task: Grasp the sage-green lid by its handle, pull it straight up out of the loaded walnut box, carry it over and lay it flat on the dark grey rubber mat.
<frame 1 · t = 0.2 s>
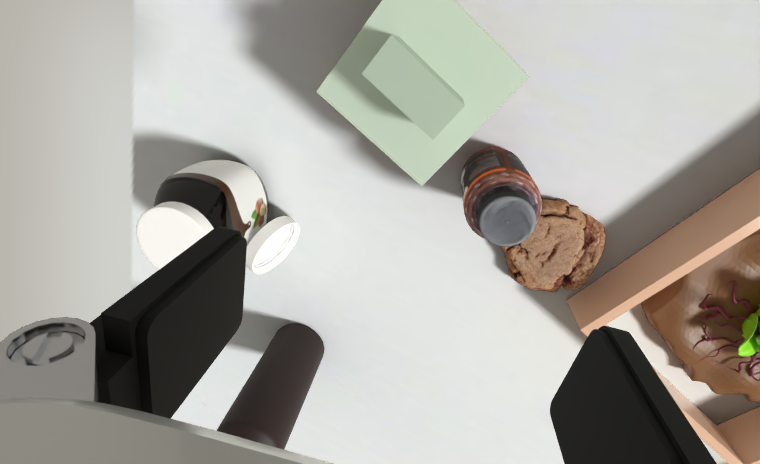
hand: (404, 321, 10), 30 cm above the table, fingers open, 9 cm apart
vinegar: (300, 342, 52), on the table
supplement bottle: (491, 176, 38), on the table
lid: (420, 81, 30), point 6 cm above the table, touching box
plant: (758, 302, 40), resting in wooden tray
cookie: (545, 241, 41), on the table
spread jar: (255, 206, 44), on the table
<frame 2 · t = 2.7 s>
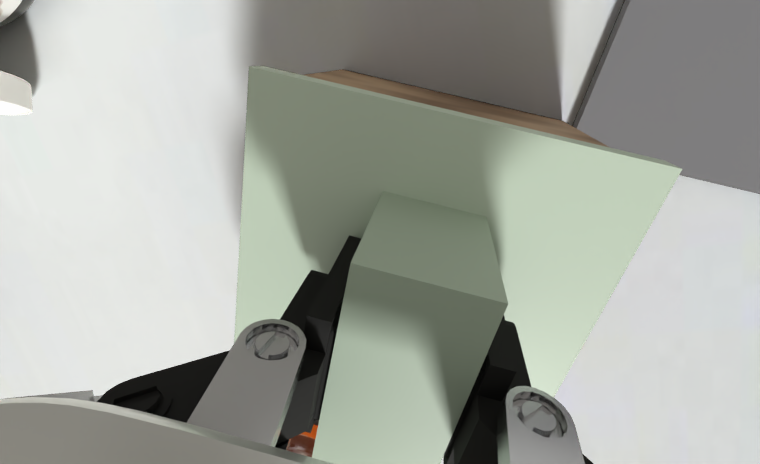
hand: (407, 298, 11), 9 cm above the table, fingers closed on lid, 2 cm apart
supplement bottle: (342, 349, 25), on the table
lid: (413, 259, 14), point 7 cm above the table, touching box, gripper
box: (423, 197, 20), on the table
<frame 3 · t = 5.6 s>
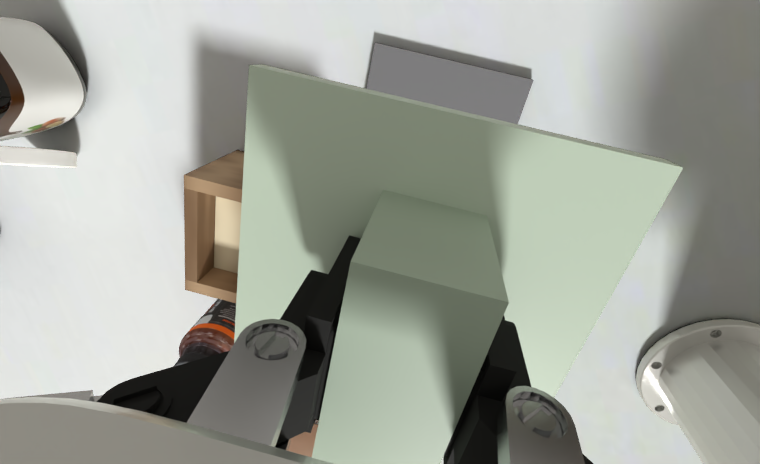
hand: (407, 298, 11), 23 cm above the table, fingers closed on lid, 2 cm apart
supplement bottle: (254, 300, 42), on the table
lid: (414, 258, 14), point 20 cm above the table, touching gripper
box: (285, 214, 37), on the table
spread jar: (57, 103, 36), on the table
mat: (432, 139, 32), on the table
when the fingers open (5 cm above the table, at t = 8.7 s): lid drops 1 cm, resting on mat.
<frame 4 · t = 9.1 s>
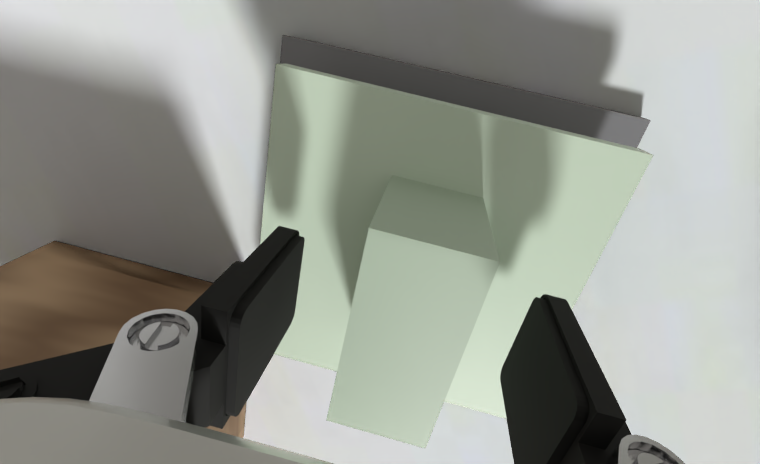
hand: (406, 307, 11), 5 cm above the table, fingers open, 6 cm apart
lid: (417, 240, 15), point 1 cm above the table, touching mat
box: (157, 347, 21), on the table
mat: (417, 233, 16), on the table
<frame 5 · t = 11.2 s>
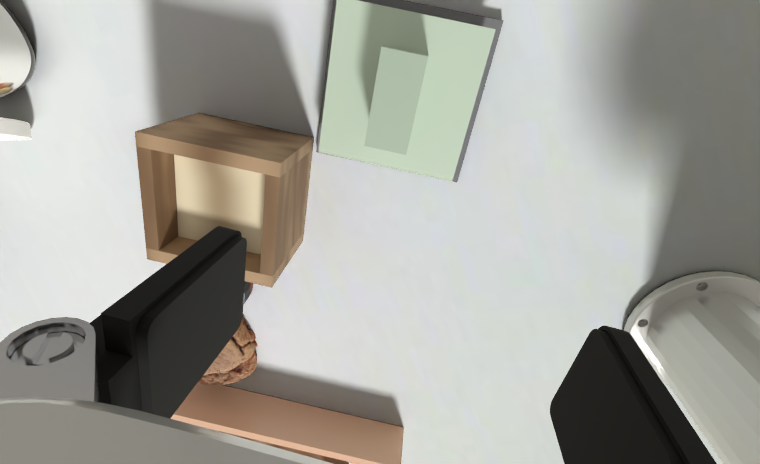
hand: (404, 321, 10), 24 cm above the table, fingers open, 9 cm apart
lid: (401, 92, 30), point 1 cm above the table, touching mat
box: (254, 180, 35), on the table
plant: (277, 463, 54), resting in wooden tray
cookie: (219, 339, 45), on the table
spread jar: (6, 70, 34), on the table
mat: (401, 91, 31), on the table
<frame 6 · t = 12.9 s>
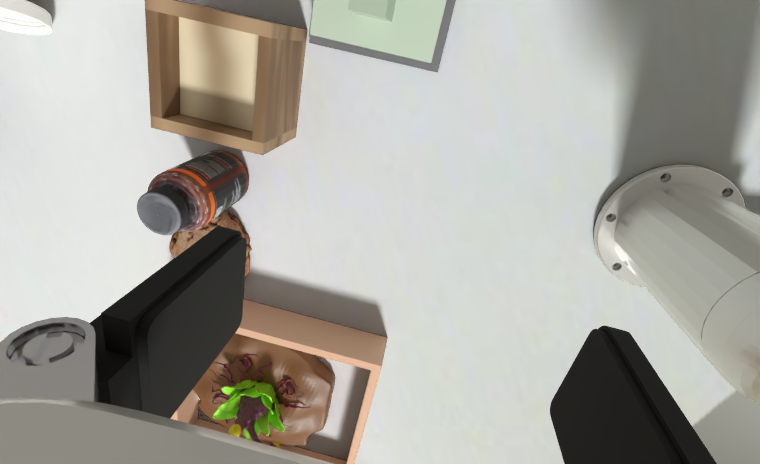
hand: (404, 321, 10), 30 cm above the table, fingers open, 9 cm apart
supplement bottle: (226, 175, 43), on the table
box: (252, 74, 38), on the table
plant: (268, 379, 56), resting in wooden tray
cookie: (216, 243, 48), on the table
wooden tray: (278, 384, 55), on the table
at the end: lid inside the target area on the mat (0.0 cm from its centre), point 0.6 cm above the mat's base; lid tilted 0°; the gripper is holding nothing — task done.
